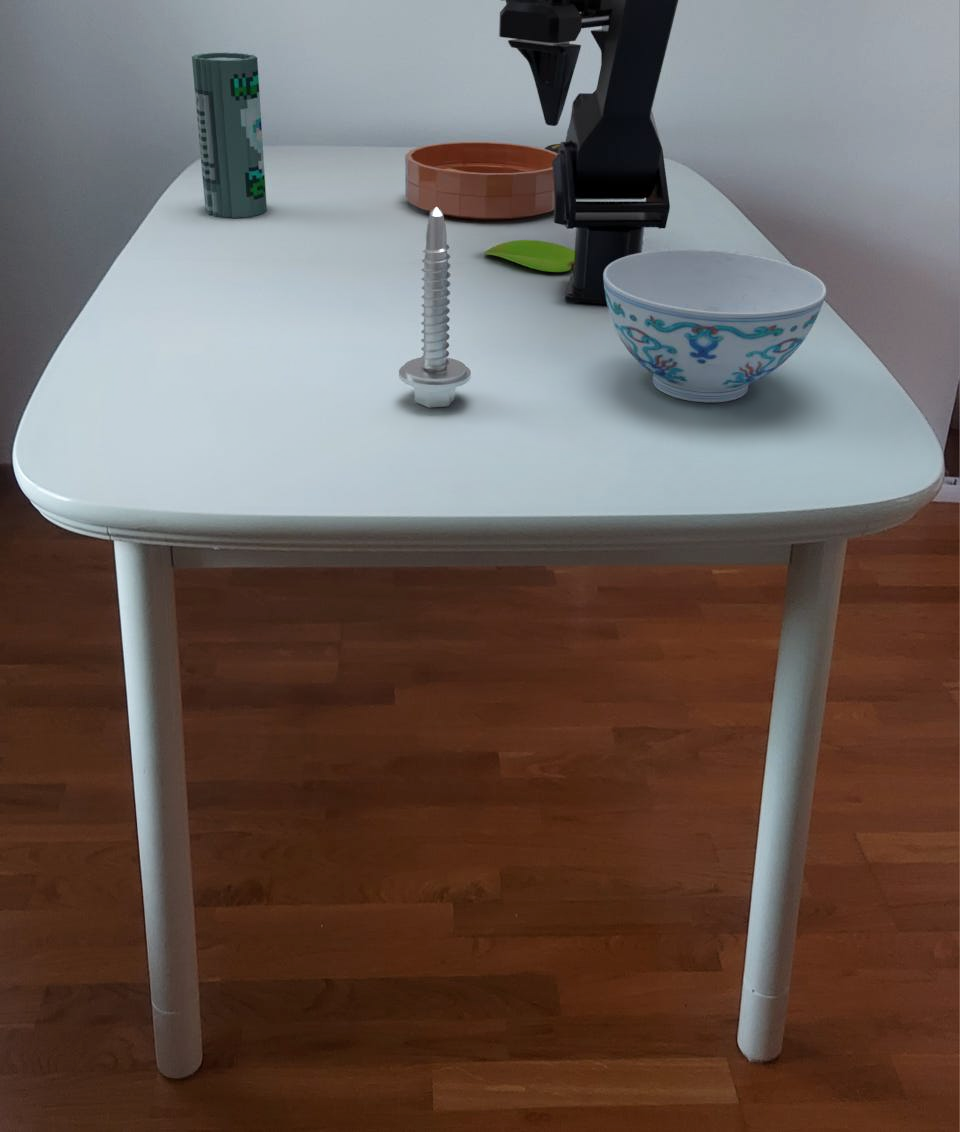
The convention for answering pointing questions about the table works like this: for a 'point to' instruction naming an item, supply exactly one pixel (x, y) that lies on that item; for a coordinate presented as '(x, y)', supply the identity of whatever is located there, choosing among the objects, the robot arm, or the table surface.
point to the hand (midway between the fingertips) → (580, 119)
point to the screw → (435, 327)
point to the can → (230, 134)
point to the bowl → (481, 179)
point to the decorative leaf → (536, 254)
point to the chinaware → (710, 317)
